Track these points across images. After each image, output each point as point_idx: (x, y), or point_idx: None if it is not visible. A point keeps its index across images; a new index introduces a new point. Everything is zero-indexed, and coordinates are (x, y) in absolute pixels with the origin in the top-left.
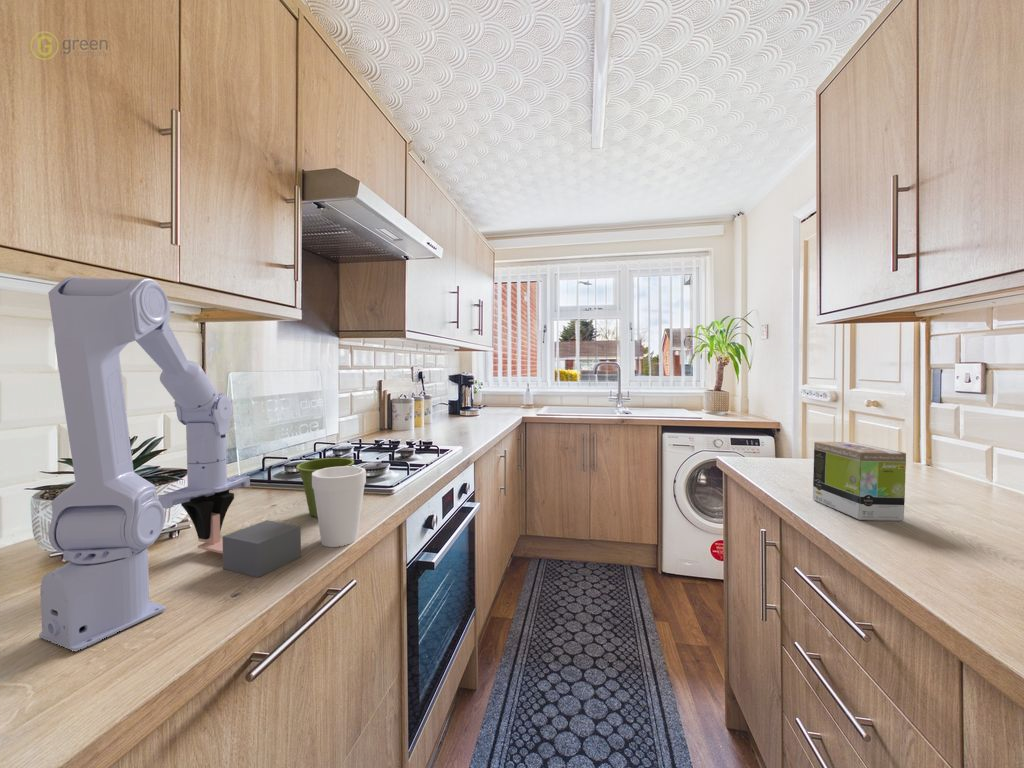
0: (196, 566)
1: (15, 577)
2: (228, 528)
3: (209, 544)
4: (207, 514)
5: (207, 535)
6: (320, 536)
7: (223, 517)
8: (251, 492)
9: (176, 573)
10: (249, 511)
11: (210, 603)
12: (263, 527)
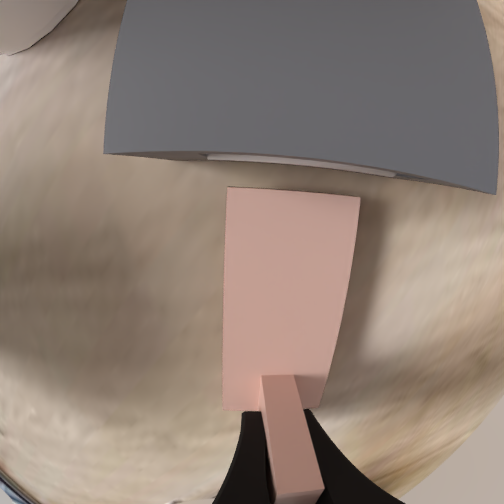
0: (390, 299)
1: (418, 481)
2: (121, 451)
3: (299, 385)
4: (359, 499)
5: (310, 419)
6: (50, 9)
7: (236, 472)
8: (27, 486)
9: (434, 305)
10: (47, 459)
11: (497, 56)
12: (281, 11)
